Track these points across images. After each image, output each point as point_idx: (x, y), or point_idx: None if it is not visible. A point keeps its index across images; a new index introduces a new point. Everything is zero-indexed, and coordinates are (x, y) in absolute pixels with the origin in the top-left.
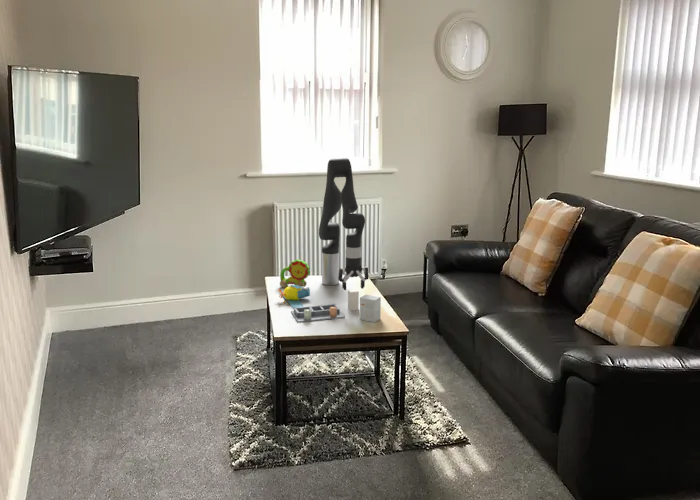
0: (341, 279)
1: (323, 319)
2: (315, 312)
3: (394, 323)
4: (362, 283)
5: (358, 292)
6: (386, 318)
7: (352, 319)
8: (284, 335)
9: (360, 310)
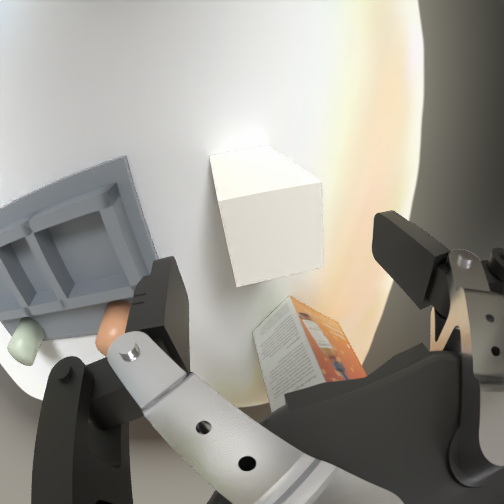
0: (118, 433)
1: (88, 333)
2: (39, 311)
3: (360, 349)
4: (408, 291)
5: (318, 262)
6: (360, 314)
7: (217, 331)
8: (38, 398)
9: (262, 366)
